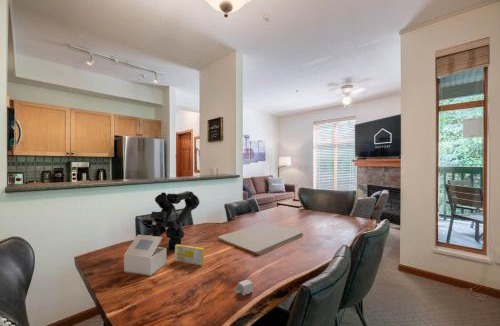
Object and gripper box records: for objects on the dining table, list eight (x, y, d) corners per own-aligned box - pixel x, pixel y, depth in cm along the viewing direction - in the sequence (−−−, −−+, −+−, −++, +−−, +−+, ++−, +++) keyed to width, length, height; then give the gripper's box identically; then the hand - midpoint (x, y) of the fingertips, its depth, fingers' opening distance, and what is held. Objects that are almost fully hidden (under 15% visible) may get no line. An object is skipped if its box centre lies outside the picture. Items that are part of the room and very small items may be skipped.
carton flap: (138, 235, 114) (137, 234, 114) (162, 237, 111) (162, 236, 111) (124, 255, 106) (124, 254, 105) (150, 258, 102) (150, 257, 102)
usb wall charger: (252, 293, 91) (252, 283, 91) (237, 299, 87) (238, 288, 87) (246, 288, 94) (247, 278, 94) (232, 293, 90) (232, 283, 90)
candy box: (204, 264, 115) (204, 248, 115) (202, 266, 113) (202, 249, 112) (177, 259, 120) (177, 243, 120) (174, 261, 118) (174, 245, 118)
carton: (142, 260, 117) (142, 245, 117) (166, 264, 114) (166, 248, 114) (124, 272, 106) (124, 255, 106) (150, 276, 103) (150, 258, 102)
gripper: (143, 203, 122) (128, 231, 111) (175, 205, 117) (162, 234, 107) (153, 215, 130) (139, 241, 119) (183, 217, 125) (172, 244, 115)
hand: (152, 240), depth 115 cm, fingers closed
